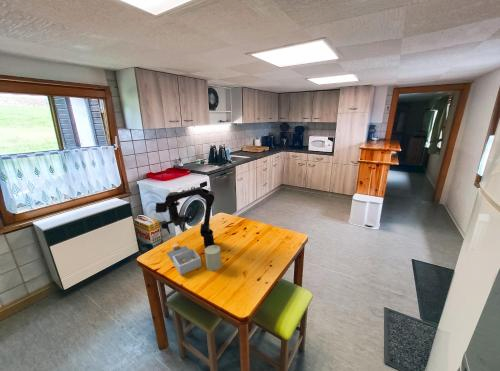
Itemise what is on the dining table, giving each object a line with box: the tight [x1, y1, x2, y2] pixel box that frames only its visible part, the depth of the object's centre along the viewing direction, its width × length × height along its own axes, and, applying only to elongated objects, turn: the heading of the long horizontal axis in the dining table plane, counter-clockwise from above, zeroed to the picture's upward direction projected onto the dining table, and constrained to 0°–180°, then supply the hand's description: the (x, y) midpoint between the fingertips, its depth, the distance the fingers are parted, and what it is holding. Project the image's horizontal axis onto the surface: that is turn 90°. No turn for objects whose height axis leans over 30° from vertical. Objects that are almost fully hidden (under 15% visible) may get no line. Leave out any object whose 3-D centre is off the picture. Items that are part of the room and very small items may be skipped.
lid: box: [166, 242, 190, 264], centre depth 146 cm, size 13×17×3 cm
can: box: [204, 244, 223, 272], centre depth 131 cm, size 9×9×12 cm
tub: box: [172, 248, 202, 276], centre depth 133 cm, size 13×12×6 cm
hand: (176, 232), depth 149 cm, fingers open, 9 cm apart
